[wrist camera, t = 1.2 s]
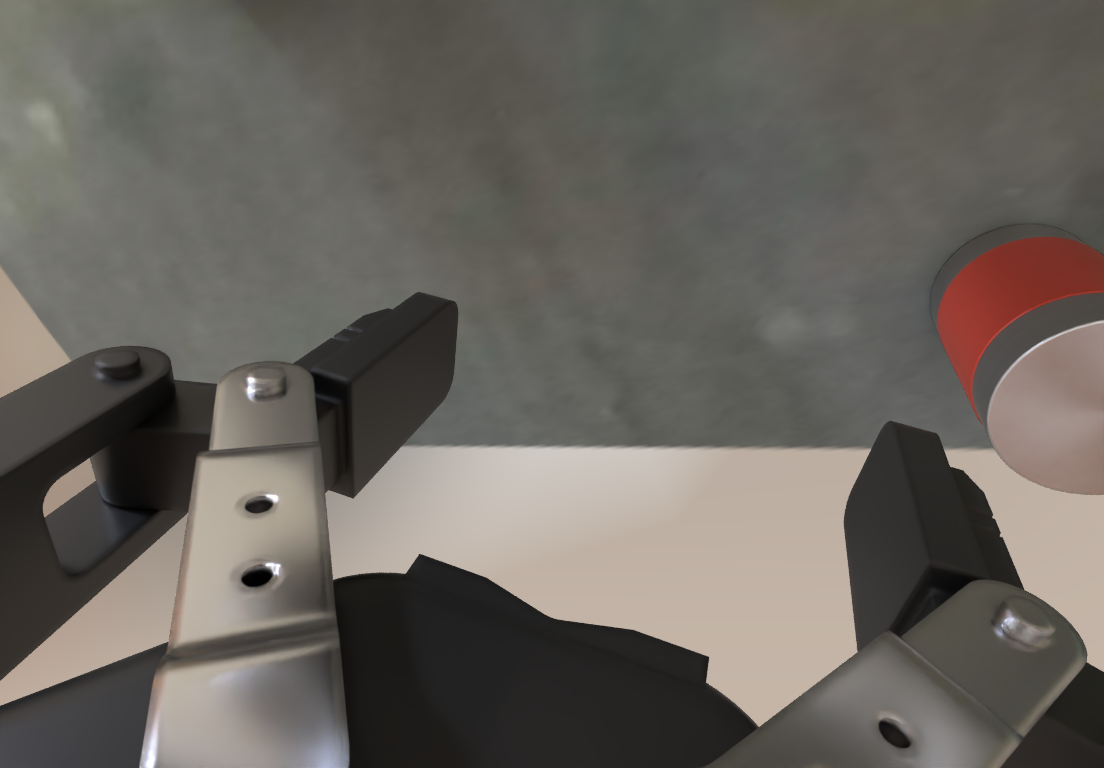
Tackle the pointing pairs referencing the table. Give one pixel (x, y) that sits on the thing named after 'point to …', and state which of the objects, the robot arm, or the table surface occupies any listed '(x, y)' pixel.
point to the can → (1030, 349)
